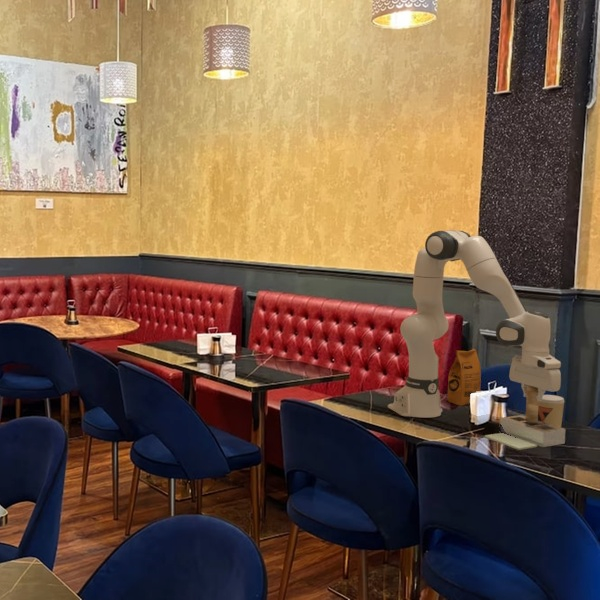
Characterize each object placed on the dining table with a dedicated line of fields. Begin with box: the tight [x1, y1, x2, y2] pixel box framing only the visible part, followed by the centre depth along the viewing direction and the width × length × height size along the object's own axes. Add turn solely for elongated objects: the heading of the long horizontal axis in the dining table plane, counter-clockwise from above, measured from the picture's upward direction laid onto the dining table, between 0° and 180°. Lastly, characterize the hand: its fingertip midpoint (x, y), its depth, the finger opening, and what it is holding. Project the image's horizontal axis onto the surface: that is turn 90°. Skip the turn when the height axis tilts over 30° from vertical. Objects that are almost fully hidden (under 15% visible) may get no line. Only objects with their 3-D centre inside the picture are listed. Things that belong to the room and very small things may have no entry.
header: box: [499, 414, 566, 448], centre depth 245 cm, size 20×10×5 cm, turn 27°
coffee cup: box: [538, 394, 565, 428], centre depth 254 cm, size 9×9×12 cm
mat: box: [484, 432, 538, 451], centre depth 240 cm, size 16×8×1 cm, turn 27°
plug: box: [525, 385, 539, 423], centre depth 245 cm, size 4×4×12 cm
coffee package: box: [446, 348, 482, 407], centre depth 295 cm, size 10×12×22 cm
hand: (532, 399), depth 245 cm, fingers closed on plug, 4 cm apart
